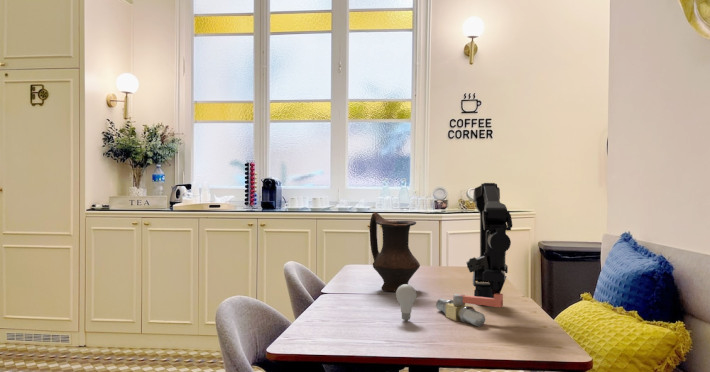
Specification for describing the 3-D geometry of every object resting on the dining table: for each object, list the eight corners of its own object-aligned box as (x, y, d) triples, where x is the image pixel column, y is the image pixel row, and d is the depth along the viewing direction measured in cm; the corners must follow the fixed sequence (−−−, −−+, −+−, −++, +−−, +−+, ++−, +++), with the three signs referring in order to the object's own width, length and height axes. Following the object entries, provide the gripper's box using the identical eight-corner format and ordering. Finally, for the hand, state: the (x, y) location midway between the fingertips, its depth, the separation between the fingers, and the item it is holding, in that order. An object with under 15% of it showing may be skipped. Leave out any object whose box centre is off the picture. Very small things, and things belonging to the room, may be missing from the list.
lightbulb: (418, 319, 168) (418, 283, 168) (413, 324, 162) (413, 286, 162) (398, 318, 170) (398, 282, 170) (393, 322, 164) (393, 285, 164)
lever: (503, 307, 165) (503, 293, 165) (500, 309, 162) (500, 295, 162) (455, 302, 173) (455, 288, 173) (451, 304, 170) (451, 290, 170)
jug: (428, 288, 221) (428, 213, 221) (406, 296, 205) (407, 214, 205) (381, 283, 232) (382, 211, 232) (358, 290, 216) (358, 213, 216)
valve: (449, 311, 182) (449, 295, 182) (488, 327, 161) (488, 309, 161) (433, 313, 180) (433, 297, 180) (470, 329, 159) (470, 311, 159)
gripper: (471, 244, 179) (471, 292, 179) (464, 251, 161) (464, 305, 161) (507, 245, 175) (507, 294, 175) (504, 252, 157) (504, 307, 158)
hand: (495, 300), depth 167 cm, fingers closed
